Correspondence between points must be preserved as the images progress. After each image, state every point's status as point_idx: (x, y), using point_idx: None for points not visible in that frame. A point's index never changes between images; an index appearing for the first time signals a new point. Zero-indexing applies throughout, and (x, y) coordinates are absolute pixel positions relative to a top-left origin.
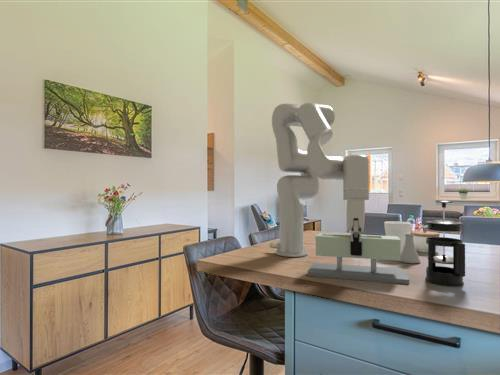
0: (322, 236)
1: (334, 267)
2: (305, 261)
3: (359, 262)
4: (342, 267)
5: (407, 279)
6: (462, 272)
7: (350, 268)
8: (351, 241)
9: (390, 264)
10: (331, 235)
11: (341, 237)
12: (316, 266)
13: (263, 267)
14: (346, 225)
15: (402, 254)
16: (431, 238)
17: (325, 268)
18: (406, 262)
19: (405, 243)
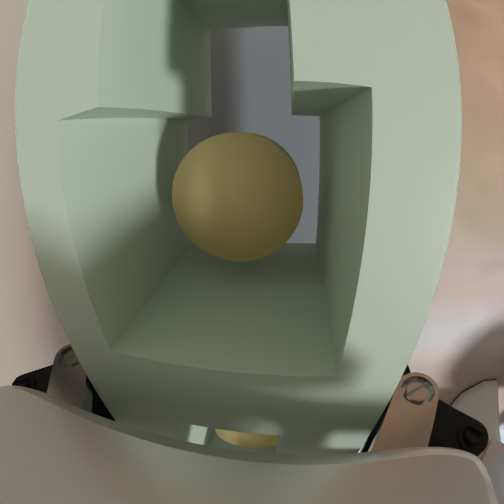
0: (26, 14)
1: (300, 130)
2: (460, 2)
3: (496, 267)
4: (314, 179)
5: None
6: None
7: (302, 226)
8: (67, 346)
9: (453, 366)
10: (293, 53)
11: (46, 279)
12: (286, 26)
13: None
14: (2, 464)
15: (481, 405)
16: None
17: (252, 79)
18: (457, 399)
19: (490, 436)
